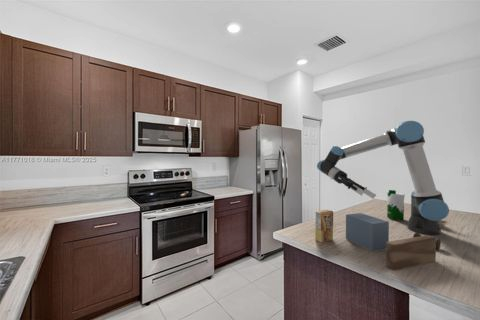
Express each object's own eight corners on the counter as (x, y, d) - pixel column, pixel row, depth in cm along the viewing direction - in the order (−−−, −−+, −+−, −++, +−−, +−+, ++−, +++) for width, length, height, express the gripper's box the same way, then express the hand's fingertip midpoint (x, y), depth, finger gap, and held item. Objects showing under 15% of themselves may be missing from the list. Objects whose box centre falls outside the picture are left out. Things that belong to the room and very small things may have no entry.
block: (345, 238, 113) (345, 214, 112) (360, 236, 116) (360, 213, 115) (372, 251, 97) (372, 223, 97) (388, 248, 100) (388, 221, 100)
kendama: (403, 250, 99) (418, 240, 110) (429, 259, 91) (443, 247, 102) (403, 238, 99) (419, 229, 110) (430, 246, 91) (444, 235, 102)
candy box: (327, 237, 114) (327, 209, 114) (333, 239, 111) (333, 211, 110) (315, 240, 111) (315, 211, 110) (321, 243, 107) (321, 213, 106)
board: (386, 266, 84) (386, 241, 84) (427, 257, 91) (427, 235, 91) (393, 270, 81) (393, 244, 81) (435, 261, 88) (435, 237, 88)
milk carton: (385, 216, 152) (385, 189, 152) (399, 217, 150) (399, 189, 150) (391, 220, 144) (391, 191, 143) (406, 221, 142) (406, 191, 141)
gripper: (345, 183, 138) (375, 203, 121) (323, 176, 124) (353, 197, 107) (351, 174, 136) (383, 192, 119) (329, 165, 122) (361, 185, 105)
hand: (368, 195), depth 113 cm, fingers open, 13 cm apart
